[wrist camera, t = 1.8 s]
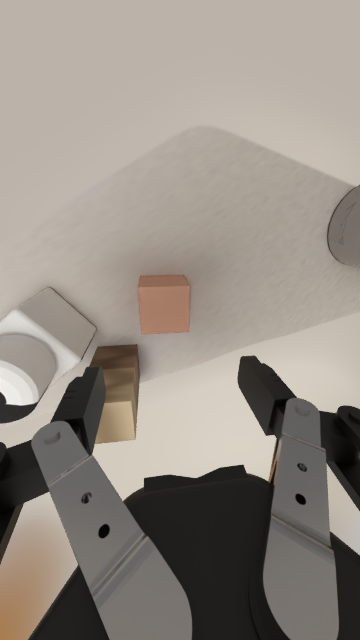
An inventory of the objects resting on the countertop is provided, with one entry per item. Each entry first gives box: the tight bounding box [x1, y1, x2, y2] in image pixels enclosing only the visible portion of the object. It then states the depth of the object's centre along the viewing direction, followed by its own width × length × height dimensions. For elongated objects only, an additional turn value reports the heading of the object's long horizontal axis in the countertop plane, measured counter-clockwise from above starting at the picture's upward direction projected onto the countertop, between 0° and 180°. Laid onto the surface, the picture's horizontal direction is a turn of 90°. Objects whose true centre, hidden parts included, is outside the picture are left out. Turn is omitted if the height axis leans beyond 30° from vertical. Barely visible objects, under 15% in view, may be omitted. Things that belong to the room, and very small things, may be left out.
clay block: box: [138, 275, 190, 334], centre depth 24 cm, size 5×5×5 cm
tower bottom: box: [89, 345, 140, 397], centre depth 27 cm, size 5×5×5 cm
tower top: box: [95, 367, 138, 444], centre depth 22 cm, size 5×5×5 cm
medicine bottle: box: [0, 288, 96, 423], centre depth 21 cm, size 7×7×12 cm
